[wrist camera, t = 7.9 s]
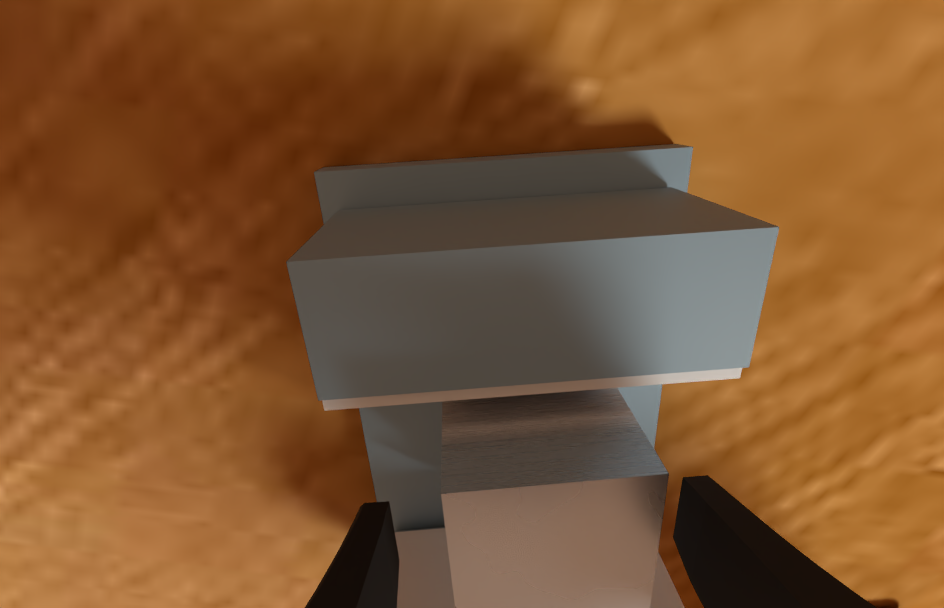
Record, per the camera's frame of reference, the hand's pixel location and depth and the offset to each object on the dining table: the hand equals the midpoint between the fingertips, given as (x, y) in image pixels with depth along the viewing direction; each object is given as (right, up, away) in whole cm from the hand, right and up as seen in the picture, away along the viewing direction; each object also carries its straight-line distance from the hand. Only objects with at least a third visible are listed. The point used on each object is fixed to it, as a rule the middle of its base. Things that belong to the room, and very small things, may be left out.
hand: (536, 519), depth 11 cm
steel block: (0, +2, +4) cm, 4 cm away
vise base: (0, 0, +6) cm, 6 cm away
